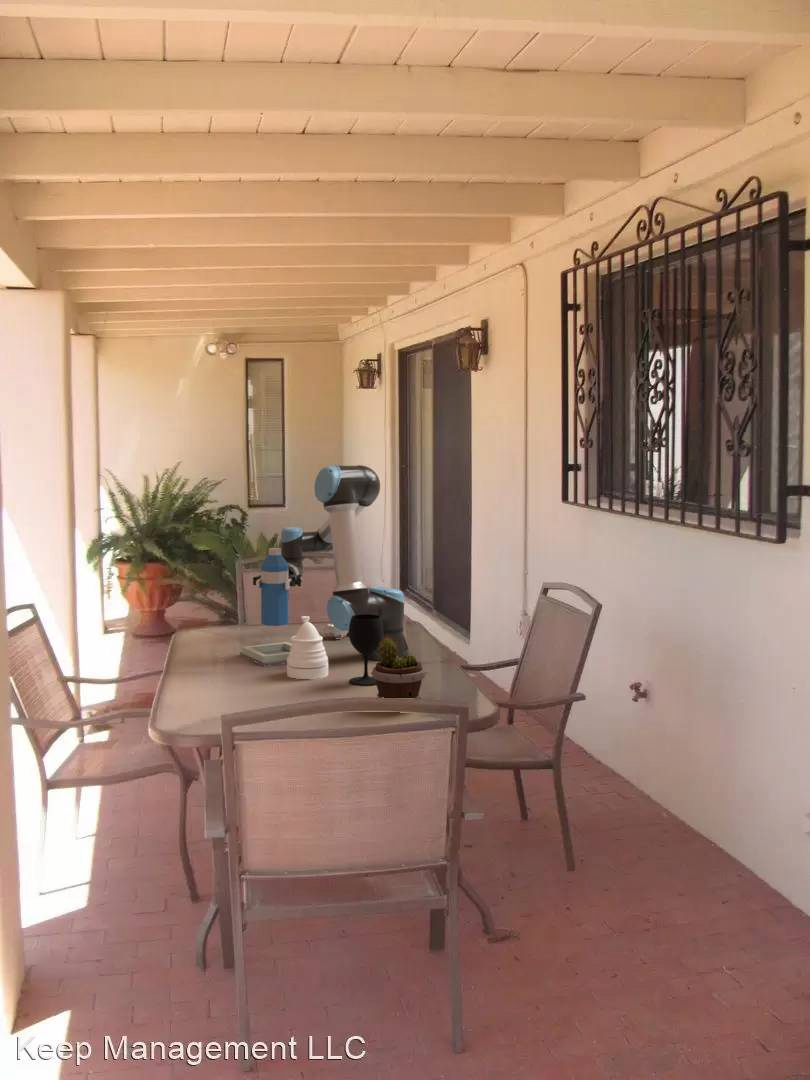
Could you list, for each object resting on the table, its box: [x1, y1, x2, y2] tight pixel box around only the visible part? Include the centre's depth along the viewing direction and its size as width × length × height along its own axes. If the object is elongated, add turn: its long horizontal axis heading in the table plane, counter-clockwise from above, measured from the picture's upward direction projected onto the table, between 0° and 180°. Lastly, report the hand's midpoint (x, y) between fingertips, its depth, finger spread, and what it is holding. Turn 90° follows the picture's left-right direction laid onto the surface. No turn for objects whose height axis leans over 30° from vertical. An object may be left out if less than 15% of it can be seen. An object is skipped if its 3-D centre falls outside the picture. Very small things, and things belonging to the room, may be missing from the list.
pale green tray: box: [239, 641, 293, 667], centre depth 347 cm, size 20×17×3 cm
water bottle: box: [260, 547, 290, 627], centre depth 345 cm, size 9×9×25 cm
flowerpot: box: [370, 636, 428, 700], centre depth 288 cm, size 14×15×20 cm
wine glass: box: [348, 614, 383, 687], centre depth 314 cm, size 10×10×20 cm
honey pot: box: [286, 615, 329, 680], centre depth 323 cm, size 13×13×18 cm
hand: (271, 585), depth 340 cm, fingers closed on water bottle, 9 cm apart
